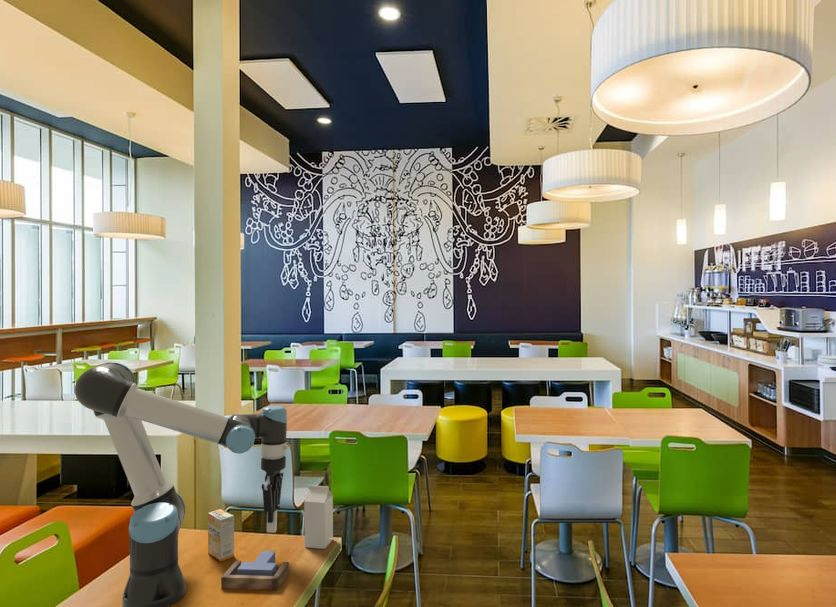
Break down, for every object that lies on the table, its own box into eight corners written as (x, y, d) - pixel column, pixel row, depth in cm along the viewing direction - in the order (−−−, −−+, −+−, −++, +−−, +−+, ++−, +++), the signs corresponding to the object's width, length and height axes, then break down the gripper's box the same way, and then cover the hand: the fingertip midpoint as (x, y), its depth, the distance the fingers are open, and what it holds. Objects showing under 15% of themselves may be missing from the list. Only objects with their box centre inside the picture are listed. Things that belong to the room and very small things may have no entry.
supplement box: (207, 554, 162) (206, 512, 162) (221, 548, 166) (221, 508, 166) (220, 562, 157) (219, 519, 157) (234, 556, 161) (234, 514, 161)
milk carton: (325, 549, 165) (324, 490, 165) (304, 547, 166) (303, 489, 166) (333, 539, 171) (332, 482, 172) (313, 537, 173) (312, 481, 173)
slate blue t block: (253, 563, 156) (252, 550, 156) (285, 564, 155) (284, 551, 155) (237, 583, 145) (237, 569, 145) (271, 584, 144) (271, 570, 144)
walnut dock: (221, 588, 142) (221, 577, 142) (236, 570, 152) (236, 560, 152) (277, 590, 141) (277, 579, 141) (288, 572, 151) (288, 561, 151)
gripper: (277, 462, 155) (275, 541, 154) (291, 451, 168) (290, 523, 167) (253, 461, 155) (251, 539, 155) (269, 450, 168) (267, 522, 168)
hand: (271, 531), depth 161 cm, fingers closed
